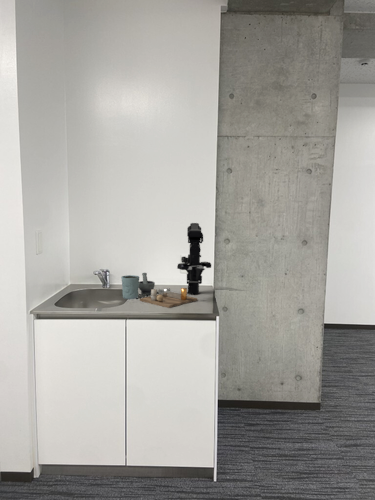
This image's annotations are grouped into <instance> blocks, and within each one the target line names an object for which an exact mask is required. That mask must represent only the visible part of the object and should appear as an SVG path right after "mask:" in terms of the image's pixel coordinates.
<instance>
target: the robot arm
mask: <svg viewBox="0 0 375 500" xmlns="http://www.w3.org/2000/svg"><path fill="white" fill-rule="evenodd" d="M186 237H187V243H188V244H189V254H188V255H187V257H186V256H181V260H180V261H181V263H177V268H176V269H179V270H182V271H186V272H187V273H186V285H188V286H187V294H189V295H193V296H195V295H196V296H197V295H198V294H201V293H202V292H200V291H199V290H200V285H201V284H203V275H202V274H203V272H204V271H205V270H206V269H210V268H212V263H211V262H210V261H209V262H208V261H201V258H202V254H201V244H203V242H204V234H203V232H202V227H201V226H200V223H197V222H191V223H190V225H189V226H187V236H186Z"/></svg>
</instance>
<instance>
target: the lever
mask: <svg viewBox="0 0 375 500" xmlns="http://www.w3.org/2000/svg"><path fill="white" fill-rule="evenodd" d="M187 292H188V287H181V288H180V292H179V291H174V290H171V288H169V287H163V288H159V289H158V295H163V296H168V297H173V298H177V299H181V300H187V296H188V295H187V294H188V293H187Z"/></svg>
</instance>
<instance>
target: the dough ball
mask: <svg viewBox="0 0 375 500" xmlns="http://www.w3.org/2000/svg"><path fill="white" fill-rule="evenodd" d="M157 295H158V296H157V300H158V301H162V300H163V296H162V295H159V294H157Z"/></svg>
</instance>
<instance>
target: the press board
mask: <svg viewBox="0 0 375 500" xmlns="http://www.w3.org/2000/svg"><path fill="white" fill-rule="evenodd" d="M157 293H158V289H156V288H154V289H151V294H150V295H149V296H147V297H142V298H139V302H142V303H147V304H151V305H155V306H159V307H164V308H168V309H169V308H174V307H178V306H181V305H186V304H189V303H193V302H197V301H198V298H197V297H192V296H189V295H187V300H181V299H177V298H173V297H168V296H163V295H162V296H163V300H162V301H158V300H157V296H158V295H159V294H157Z"/></svg>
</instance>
